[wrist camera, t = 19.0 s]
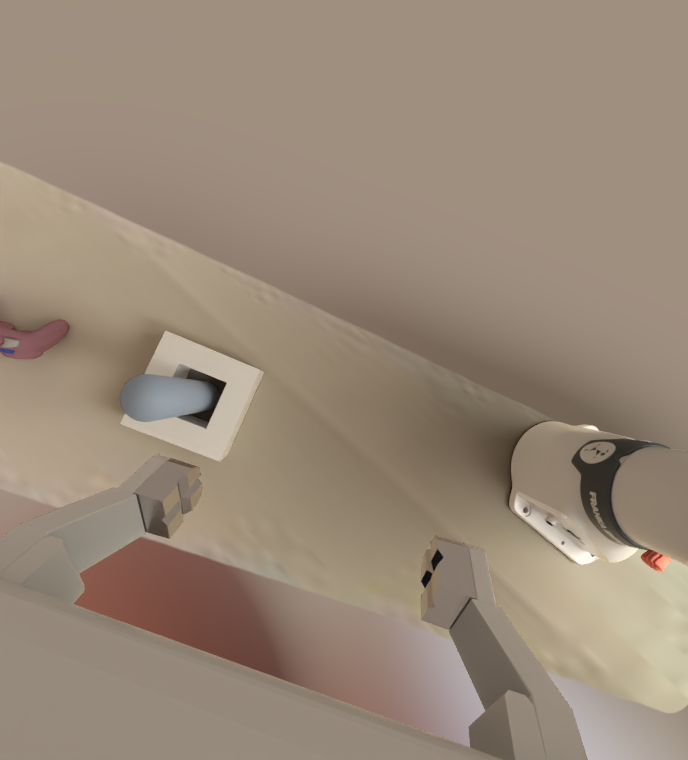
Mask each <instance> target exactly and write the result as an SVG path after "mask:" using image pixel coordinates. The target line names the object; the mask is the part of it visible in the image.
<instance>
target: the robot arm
mask: <svg viewBox="0 0 688 760" xmlns="http://www.w3.org/2000/svg"><path fill="white" fill-rule="evenodd" d="M200 475H201V472H200V467H197V466H194V465H191V464H188V463H185V462H181V461H178V460H175V459H172V458H169V457H166V456H162V455H159V454H158V455H156V456H154V457H152V458H151V459H150V460H149V461H148V462H147V463H145V464H144V465H143V466H142V467H141V468H140V469H139V470H138V471H137V472H135V473H134V474H133V475H132V476H131V477H130V478H129V479H128V480H127V481H125V482H124V483H123V484H122V485H121V486H120V487H119V488H118V489H117V488H111V489H108V490H106V491H103V492H101V493H98V494H95V495H93V496H90V497H88V498H85V499H82V500H80V501H77V502H75V503H72V504H70V505H67V506H64V507H62V508H59V509H57V510H54V511H52V512H49V513H46V514H44V515H41V516H38V517H36V518H33V519H31V520H28V521H26V522H23V523H20V524H19V525H18V526H17V527H15V528H14V529H13V530H11V531H10V532H9V533H7V534H6V535H5V536H4V537H2V538H1V539H0V760H588V759H587V756H586V753H585V750H584V746H583V743H582V740H581V737H580V733H579V730H578V727H577V723H576V720H575V717H574V714H573V710H572V709H571V707H570V706H569V704H568V703H567V701H566V700H565V699H564V697H563V696H562V694H561V693H560V691H559V690H558V688H557V687H556V686H555V684H554V683H553V681H552V680H551V678H550V677H549V675H548V674H547V673H546V671H545V670H544V668H543V667H542V665H541V664H540V662H539V661H538V660H537V658H536V657H535V655H534V654H533V652H532V651H531V650H530V648H529V647H528V645H527V644H526V642H525V641H524V639H523V638H522V637H521V635H520V634H519V632H518V631H517V629H516V628H515V626H514V625H513V624H512V622H511V621H510V619H509V618H508V616H507V615H506V613H505V612H504V611H503V609H502V608H501V607H498V606H496V602H495V597H494V592H493V587H492V582H491V577H490V572H489V567H488V562H487V557H486V553H485V551H484V550H483V549H481V548H477V547H474V546H470V545H466V544H465V543H461V542H457V541H454V540H450V539H447V538H443V537H439V536H436V535H435V536H434V537H433V538H432V540H431V542H430V544H431V549H428V550H426V552H425V555H424V557H423V562H422V568H421V582H422V584H423V586H424V588H425V590H424V592H423V594H422V595H421V620H423V621H425V622H428V623H431V624H434V625H437V626H440V627H442V628H445V629H448V630H450V631H449V632H450V635H451V637H452V639H453V641H454V643H455V645H456V647H457V650H458V652H459V654H460V656H461V659H462V661H463V663H464V665H465V667H466V669H467V671H468V674H469V676H470V678H471V680H472V683H473V685H474V687H475V689H476V691H477V693H478V695H479V698H480V700H481V702H482V704H483V706H484V709H485V712H484V713H483V714H482V715H481V716H480V717H478V718H477V719H476V720H475V721H474V722H473V723H472V724H471V725H470V726H469V738H470V747H467V746H464V745H462V744H459V743H456V742H453V741H450V740H448V739H445V738H442V737H439V736H436V735H434V734H431V733H428V732H426V731H423V730H420V729H417V728H415V727H412V726H409V725H406V724H403V723H401V722H398V721H395V720H392V719H390V718H387V717H384V716H381V715H379V714H376V713H373V712H370V711H368V710H365V709H362V708H359V707H356V706H354V705H351V704H348V703H345V702H343V701H340V700H337V699H334V698H331V697H329V696H326V695H323V694H321V693H318V692H315V691H312V690H309V689H307V688H304V687H301V686H298V685H296V684H293V683H290V682H287V681H284V680H282V679H279V678H276V677H274V676H271V675H268V674H265V673H262V672H260V671H257V670H254V669H251V668H249V667H246V666H243V665H240V664H237V663H235V662H232V661H229V660H226V659H224V658H221V657H218V656H215V655H213V654H210V653H207V652H204V651H202V650H199V649H196V648H193V647H191V646H188V645H185V644H182V643H179V642H177V641H174V640H171V639H168V638H166V637H163V636H160V635H157V634H154V633H152V632H149V631H146V630H143V629H141V628H138V627H135V626H132V625H129V624H127V623H124V622H121V621H119V620H116V619H113V618H110V617H107V616H105V615H102V614H99V613H96V612H93V611H91V610H88V609H85V608H83V607H80V606H77V605H74V604H73V603H74V602H75V601H76V600H77V599H78V598H79V597H80V595H81V594H82V593H83V592H84V588H85V585H84V583H83V581H82V579H81V577H80V575H79V573H81V572H83V571H84V570H86V569H88V568H89V567H91V566H92V565H94V564H95V563H97V562H99V561H101V560H102V559H104V558H106V557H107V556H109V555H111V554H112V553H114V552H116V551H117V550H119V549H121V548H122V547H124V546H126V545H127V544H129V543H131V542H132V541H134V540H136V539H137V538H139V537H141V536H142V535H144V534H145V533H146V532H148V533H151V534H155V535H158V536H162V537H165V538H169V539H170V538H171V536H172V535H173V534H174V533H175V531H176V530H177V529H178V527H179V526H180V525H181V524H182V522H183V514H185V513H187V512H189V511H191V510H192V509H193V508H194V507H195V505H196V504H197V502H198V500H199V498H200V496H201V492H202V483H201V482H200V480H199V479H198V477H199V476H200ZM511 476H512V491H511V495H510V500H509V507H510V509H511V510H512V511H513V512H514V513H515V514H516V515H518V516H519V517H520V518H521V519H522V520H524V521H525V522H526V523H527V524H528V525H530V526H531V527H532V528H533V529H535V530H536V531H537V532H538V533H539V534H541V535H542V536H543V537H544V538H545V539H547V540H548V541H549V542H550V543H551V544H553V545H554V546H555V547H556V548H558V549H559V550H560V551H561V552H562V553H564V554H565V555H566V556H567V557H568V558H570V559H571V560H572V561H574V562H575V563H578V564H580V565H583V564H588V563H591V562H593V561H595V560H597V559H598V558H600V559H602V560H604V561H607V562H612V563H613V562H619V561H622V560H624V559H626V558H628V557H630V556H631V555H632V554H634V553H635V552H636V551H637V550H638V549H644V550H648V551H647V552H645V553H644V554H642V556H641V559H642V560H643V561H644V562H645V563H646V564H647V565H649V566H650V567H651V568H653V569H655V570H658V571H659V572H662V571H663V570H664V569H665V567H666V565H667V563H669V562H671V559H673V560H675V561H677V562H680V563H682V564H684V565H687V566H688V451H681V450H674V449H671V448H669V447H667V446H664V445H661V444H657V443H652V442H650V441H645V440H634V439H632V438H628V437H624V436H620V435H615V434H610V433H606V432H601V431H598V429H597V428H596V427H595V426H592V425H587V424H585V425H576V426H572V425H569V424H566V423H562V422H557V421H548V422H543V423H540V424H538V425H535V426H534V427H532V428H531V429H529V430H528V431H527V432H526V433H525V434H524V435H523V436H522V437H521V439H520V440H519V442H518V443H517V445H516V447H515V450H514V453H513V456H512V461H511ZM524 508H525V510H524V511H523V509H524Z"/></svg>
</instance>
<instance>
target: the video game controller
mask: <svg viewBox="0 0 688 760" xmlns="http://www.w3.org/2000/svg"><path fill="white" fill-rule="evenodd" d="M68 328H69V325H68V323H67V322H66V321H65V320H56V321H53V322H51V323H49V324H47V325H46V326H44V327H43V328H41V329H39V330H37V331H35V332H31V331H15V330H14V326H13V325H12V324H10V323H7V322H0V352H1V353H2V354H3V355H5V356H7V357H10V358H15V359H33V358H37V357H39V356H41V355H42V354H43V352H44V351H46V350H47V349H49V348H50V347H52V346H53V345H55V344H56V343H57V342H59V341H60V340H61V339H62V338H63V337H64V336H65V334H66V333H67V331H68Z"/></svg>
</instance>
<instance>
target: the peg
mask: <svg viewBox="0 0 688 760" xmlns="http://www.w3.org/2000/svg"><path fill="white" fill-rule="evenodd" d="M218 401H219V391H218V389H217V387H216V386H215V385H214V384H212V383H210V382H207V381H199V380H191V379H184V378H176V377H168V376H160V375H152V374H142V375H138V376H135V377H133V378H132V379H130V380H129V381H128V382H127V383H126V384H125V385H124V387H123V389H122V391H121V395H120V403H121V406H122V409H123V410H124V412H125V413H126V414H127V415H128V416H129V417H130V418H132V419H134V420H136V421H140V422H151V421H156V420H161V419H167V418H172V417H177V416H182V415H187V414H193V413H198V412H203V411H208V410H211V409H212V408H214V407H215V406H216V405H217V403H218Z"/></svg>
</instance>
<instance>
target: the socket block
mask: <svg viewBox="0 0 688 760" xmlns="http://www.w3.org/2000/svg"><path fill="white" fill-rule="evenodd" d="M191 368H192V369H194V370H197V371H199V372H202V373H204V374H207V375H209V376H212V377H214V378H216V379H219V380H221V381H224V382H226V383H227V384H226V386H225V388H224V391H223V393H222V395H221V397H220V399H219V402H218V404H217V406H216V408H215V410H214V413H213V415H212V417H211V419H210V422H206V421H204V420H201V419H199V418H196V417H194V416H191V415H188V414H187V415H182V416H177V417H172V418H167V419H161V420H156V421H151V422H140V421H136V420H134V419H132V418H130V417H129V416H128V415H127V414H126V413H125V415H124V417H123V419H122V421H121V423H120V424H121V425H124V426H126V427H129V428H132V429H134V430H137V431H140V432H142V433H145V434H148V435H150V436H153V437H156V438H158V439H161V440H164V441H166V442H169V443H172V444H174V445H177V446H180V447H182V448H185V449H188V450H190V451H193V452H196V453H198V454H201V455H204V456H206V457H209V458H212V459H214V460H217V461H221V460H222V459H223V458H224V457H226V456H227V455H228V453H229V451H230V449H231V447H232V444H233V442H234V440H235V438H236V435H237V433H238V431H239V429H240V426H241V424H242V422H243V419H244V417H245V415H246V413H247V410H248V408H249V406H250V404H251V401H252V399H253V397H254V395H255V392H256V390H257V388H258V385H259V383H260V381H261V379H262V376H263V374H264V372H263V371H261V370H259V369H257V368H255V367H252V366H250V365H247V364H245V363H243V362H240V361H238V360H235V359H233V358H231V357H228V356H226V355H223V354H221V353H219V352H216V351H214V350H211V349H209V348H207V347H204V346H202V345H199V344H197V343H195V342H192V341H190V340H187V339H185V338H183V337H180V336H178V335H175V334H173V333H171V332H168V331H166V330H165V332H164V334H163V336H162V338H161V340H160V342H159V345H158V347H157V349H156V351H155V353H154V355H153V357H152V359H151V361H150V363H149V365H148V367H147V369H146V372H145V374H152V375H160V376H168V377H176V378H184V379H186V378H187V376H188V373H189V371H190V369H191Z"/></svg>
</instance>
